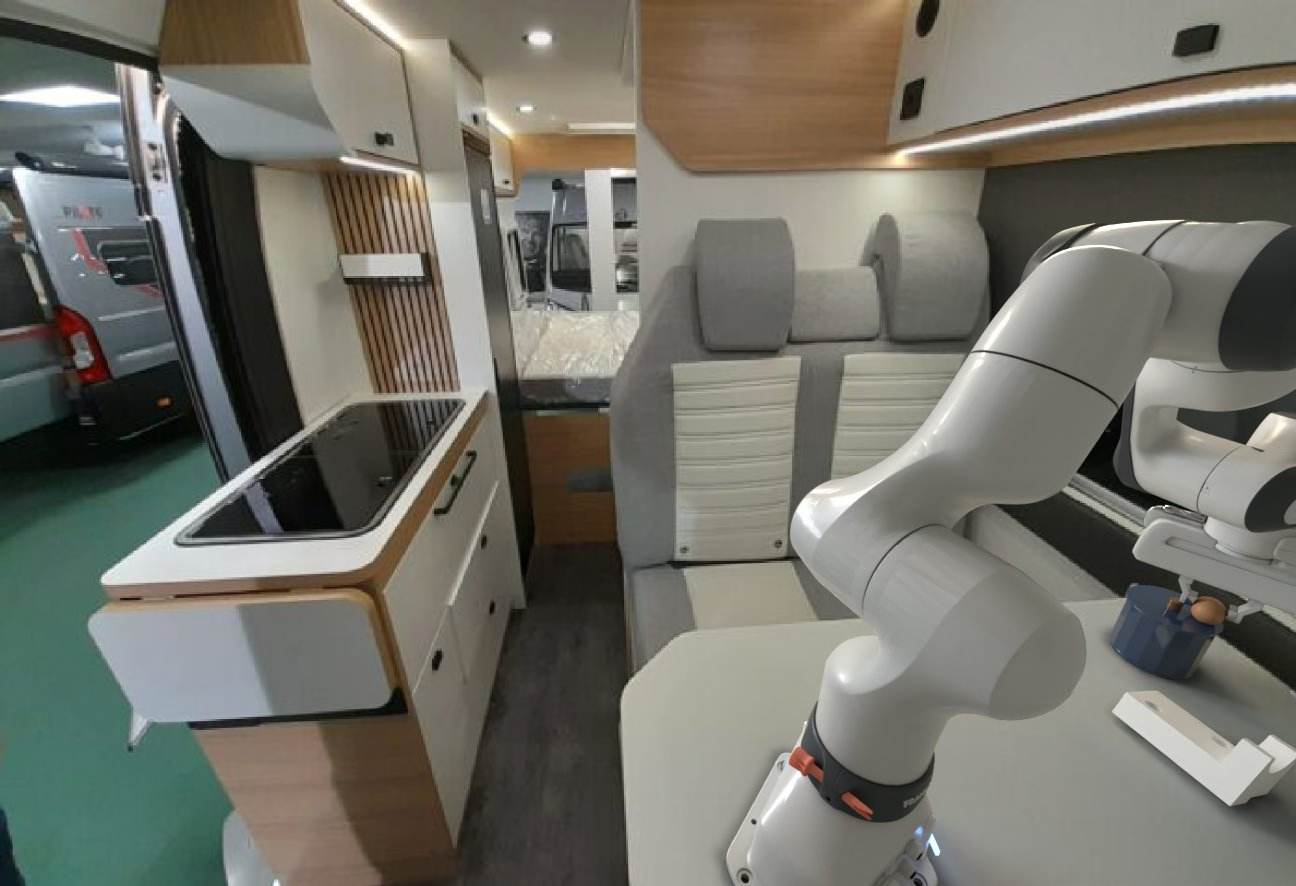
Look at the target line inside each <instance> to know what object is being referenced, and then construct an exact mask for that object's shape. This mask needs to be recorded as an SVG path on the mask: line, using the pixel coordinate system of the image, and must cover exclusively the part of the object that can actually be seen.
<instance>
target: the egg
mask: <svg viewBox="0 0 1296 886" xmlns="http://www.w3.org/2000/svg"><path fill="white" fill-rule="evenodd" d="M1226 611H1227V609H1226V606H1225V605H1224V604H1223V602H1222V601H1220V600H1219V599H1217V598H1215V597H1212V596H1207V595H1206V596H1198V597H1197V599H1196V601H1195V602H1194V605H1193V606H1192V607H1191V612H1192V615H1193V616H1194V617H1195V619H1197V620H1198V621H1200V622H1202V623H1204V624H1208V625H1216V624H1219V623H1221V622H1222V623H1223V622H1224V620H1226V619H1225V615H1226Z"/></svg>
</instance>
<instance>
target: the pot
mask: <svg viewBox="0 0 1296 886" xmlns="http://www.w3.org/2000/svg"><path fill="white" fill-rule="evenodd" d="M1215 637H1216V636H1214V637H1196V636H1191V635H1186V634H1183V633H1179V632H1176V631H1173V630H1170V629H1168V628H1165V627H1163V626H1161V625H1159V624H1157V623H1155V622H1153V621H1151V620H1149V619H1147V618H1146V617H1144V616H1143V615H1141V614H1140V613H1138V612H1137V611H1136V610H1135V609H1134V608H1133V607H1132V606H1131V605H1130V604H1129V603H1128V601H1127V599H1126V598H1125V601H1124V603H1123V606H1122V607H1121V610H1120V612H1119V614H1118V616H1117V618H1116V621H1115V623H1114V625H1113V626H1112V629H1111V632H1110V634H1109V636H1108V641H1109V644H1110V646H1111V648H1112V649H1113V650H1114V651H1115V653H1117V654H1118V656H1120V657H1121V658H1123V660H1125V661H1126V662H1128V663H1130V664H1131V665H1133V666H1135V667H1137V668H1138V669H1141V670H1142V671H1145V672H1147V673H1149V674H1152V675H1155V676H1158V677H1161V678H1165V679H1170V680H1186V679H1189V678H1190V677H1192V676H1193V674H1195V673H1196V670H1197V669H1198V667H1199V665H1200V664H1201V662H1202V660H1203V659H1204V658H1205V657H1204V656H1205V655H1206V653H1207V652H1208V650H1209V648H1210V646H1211V645H1212V643H1213V641H1214V639H1215Z"/></svg>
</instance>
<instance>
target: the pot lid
mask: <svg viewBox="0 0 1296 886" xmlns="http://www.w3.org/2000/svg"><path fill="white" fill-rule="evenodd" d="M1181 595H1182V593H1180V592H1177V591H1175V590H1171V589H1168V588H1166V587H1165V588H1164V587H1160V586H1156V585H1149V584H1148V585H1147V584H1135V585H1132V586H1130V587H1128V589H1126V592H1125V600H1126V599H1127V601H1128V603H1129V604H1130V605H1131V606H1132V607H1133V608H1134V609H1135V610H1136V611H1137V612H1138V613H1140V614H1141V615H1143V616H1144V617H1146V618H1147V619H1149V620H1151V621H1153V622H1155V623H1157V624H1159V625H1161V626H1163V627H1165V628H1168V629H1170V630H1173V631H1176V632H1179V633H1183V634H1186V635H1191V636H1196V637H1214V636H1215V637H1218V636H1219V635H1221V633H1222V632H1223V630H1224V624H1223V621H1222V622H1221V623H1219V624H1216V625H1208V624H1204V623H1202V622H1200V621H1198V620H1197V619H1195V617H1194V616H1193V615H1192V612H1191V607H1192V606H1190V605H1187V604H1184V603H1181V602H1179V600H1180V597H1181Z"/></svg>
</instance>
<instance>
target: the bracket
mask: <svg viewBox="0 0 1296 886" xmlns="http://www.w3.org/2000/svg"><path fill="white" fill-rule="evenodd" d="M1111 713H1113V714H1114V715H1115V716H1116V717H1117V718H1118V719H1120V720H1121V721H1123V722H1124V723H1125V724H1126V725H1127V726H1129V727H1130V728H1131V729H1132V730H1134V731H1135V732H1136V733H1137V734H1139V735H1140V736H1141V737H1143V738H1144V739H1145V740H1146V741H1147V742H1149V743H1150V744H1151V745H1153V747H1155V748H1156V749H1157V750H1158V751H1160V752H1161V753H1163V754H1164V755H1165V756H1166V757H1167V758H1169V759H1170V760H1171V761H1173V762H1174V763H1175V764H1176V765H1177V766H1179V767H1180V768H1181V769H1183V771H1185V772H1186V773H1187V774H1189V775H1190V776H1191V777H1192V778H1194V779H1195V780H1196V781H1198V783H1200V784H1201V785H1202V786H1204V787H1205V788H1206V789H1207V790H1209V792H1212V793H1213V795H1215V796H1216V797H1218V799H1220V800H1221V801H1223V802H1224V803H1225V804H1226V805H1227V806H1228V807H1233V806H1238V805H1242V804H1247V803H1248V801H1250V799H1251V798H1254V797H1255V798H1256V797H1260V796H1265V795H1268V793H1270V791H1271V790H1272V789H1273V788H1274V787H1275V786H1276V785H1277V783H1279V781H1280V780H1281V779H1282V778H1283V777H1284V776H1285V775H1286V774H1287V773H1288V771H1289V770H1290V769H1291V768H1292V767H1293V766H1294V765H1295V764H1296V748H1295V747H1293V746H1292V745H1290V744H1289V743H1287V742H1286V741H1284V740H1283V739H1281V738H1279V737H1278V736H1276V735H1275V734H1269V735H1268V736H1267V737H1266V738H1265V739H1264V740H1262V741H1261V742H1260V744H1256V743H1255V742H1253V741H1252V740H1250V738H1247V737H1242V738H1241V739H1240V740H1239V741H1238V742H1237V743H1236V745H1234V744H1232V743H1231V742H1230V741H1228V740H1227V739H1226V738H1224V737H1223V736H1221V735H1220V734H1219V733H1217V732H1216V731H1214V730H1213V729H1212V728H1210V727H1209V726H1207V725H1206V724H1204V723H1203V722H1202V721H1200V720H1199V719H1198V718H1196V717H1195V716H1193V715H1192V714H1191V713H1189V712H1188V711H1187V710H1186V709H1184V708H1182V707H1181V706H1180V705H1179V704H1177V703H1176V702H1175V701H1172V700H1171V699H1170V698H1168V697H1166V696H1165V695H1164V694H1162V692H1160V691H1159V690H1142V691H1141V690H1140V691H1138V690H1137V691H1125V693H1124V694H1123V696H1122V697H1121V699H1120V700H1119V701H1118V703H1116V705H1115V706H1114V708H1113V709H1112V711H1111Z"/></svg>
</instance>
